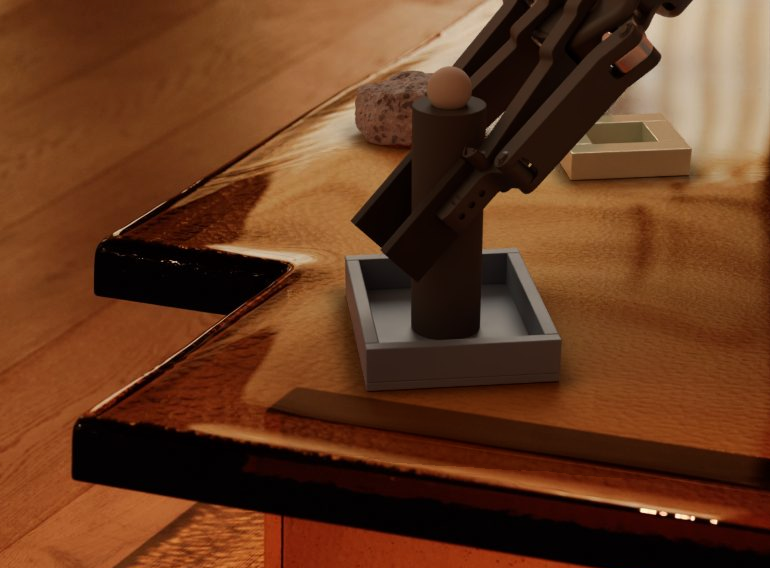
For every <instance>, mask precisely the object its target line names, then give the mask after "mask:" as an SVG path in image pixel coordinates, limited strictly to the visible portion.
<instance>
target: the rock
mask: <svg viewBox="0 0 770 568" xmlns="http://www.w3.org/2000/svg"><path fill="white" fill-rule="evenodd" d="M433 74H434V72H424V71H421V70H402V71H399V72H397V73H395V74H391V75H390V76H389V77H388V78H387V79H386V80H382V81H379V82H373V83H371V82H370V83H365V84H361V85H359V86H358V87H357V89H356V93H355V94H356V98H355V99H354V108H355V110H354V117H355V118H354V122H355V123H354V124H355V127H356V128H357V130H358V131H359V132H360V133H361V134H362V135H363V136H364V137H365V140H366V142H368V143H370V144H373V145H377V146H402V147H405V146H412V104H413V102H414V101H415V100H417V99H419V98H422V97H425V96H428V94H427V86H428V82H429V79H430V77H431V76H432V75H433Z"/></svg>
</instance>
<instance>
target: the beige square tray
mask: <svg viewBox="0 0 770 568" xmlns="http://www.w3.org/2000/svg"><path fill="white" fill-rule="evenodd" d="M692 151H693V149H692V147H691V146H690V145H689V144H688V143H687V142H686V140H685V139H684V138H683V136H682V135H681V134H680V133H679V132H678V131H677V130H676V128H675V127H674V126H673V125H672V124H671V123H670V121H669V120H668V119H667V118H666V117H665V115H663V114H662V113H661V112H656V113H655V112H653V113H630V114H604V115H603V116H602V117H601V118H600V119H599V120H598V121H597V122H596V123H595V124H594V125H593V127H592V128H591V129H590V130H589V131H588V132H587V133H586V134H585V135H584V136H583V138H582V139H581V140H580V141H579V142H578V143H577V144H576V145H575V146H574V147H573V149H572V150H571V151H570V152H569V153H568V154H567V155H566V156H565V157H564V158H563V160H562V161H561V162H560V163H559V164H560V165H561V167H562V169H563V170H564V172H565V173H566V175H567V177H568V178H569V180H571V181H581V180H582V181H583V180H602V179H603V180H604V179H605V180H607V179H627V178H628V179H629V178H651V177H652V178H653V177H654V178H655V177H673V176H674V177H675V176H690V173H691V164H692V163H691V162H692Z"/></svg>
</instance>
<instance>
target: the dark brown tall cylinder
mask: <svg viewBox="0 0 770 568" xmlns="http://www.w3.org/2000/svg"><path fill="white" fill-rule="evenodd" d="M433 73H434V74H433V75H432V76H431V77H430V79H429V82H428V86H427V94H428V96H425V97H422V98H419V99H417V100H415V101H414V102H413V104H412V145H411V149H412V212H413V211H414V210H415V209H416V208H417V207H418V205H419V204H420V203H421V202H422V201H423V200H424V198H425V197H426V196H427V195H428V194H429V193H430V192H431V190H432V189H433V188H434V187H435V186H436V185H437V183H438V182H439V181H440V180H441V179H442V178H443V176H444V175H445V174H446V173H447V172H448V171H449V170H450V168H451V167H452V166H453V165H454V164H455V163H456V161H457V160H458V159H459V158H462V159H463V160H464V161H466V162H467V163H468V164H469V165H470V166H471V167H472V168H473V169H474V166H473V165H472V164H471V163H470V162H469V161H468V160H467V159H466V158H465V157H463V154H462V153H463V150H464V148H465V147H467V148H468V147H469V148H473V149H475V150H476V149H477V150H478V149H479V148H480V146H481V145H482V143H483V142H484V140H485V139H486V138H487V136H486V135H487V129H486V106H487V105H486V103H485V102H484V101H483V100H481V99H479V98H476V97H473V96H471V94H472V85H471V81H470V79H469V77H468V75H467V74H466V73H465V72H464V71H463V70H461V69H459V68H457V67H453V65H449V66H443V67H440V68H438V69H437V70H436V71H434V72H433ZM484 209H485V208H484ZM484 209H483V210H482V211H481V213H480V214H478V216H477V217H476V218H475V219H474V220H473V222H472V223H471V224H470V225H469V226H468V228H467V229H466V230H464V231H463V232H462V233H461V234H460V235H459V236H458V237H457V238H456V239H455V241H454V242H453V243H452V244H451V245H450V246H449V247H448V249H447V250H446V251H445V252H444V253H443V254H442V255H441V257H440V258H439V259H438V260H437V261H436V262H435V263H434V265H433V266H432V267H431V268H430V269H429V270H428V272H427V273H426V274H425V275H424V276H423V277H422V278H421V280H420V281H419V282H418V283H417V282H416V281H415V280H414V279H413V278H411V327H412V330H413V331H414V332H415V333H417V334H418V335H420V336H423V337H426V338H429V339H435V340H450V339H463V338H467V337H469V336H472V335H474V334H475V333H476V332H478V330H479V328H480V314H481V279H482V249H483V244H484V243H483V241H484V240H483V239H484Z"/></svg>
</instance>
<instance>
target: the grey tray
mask: <svg viewBox="0 0 770 568" xmlns="http://www.w3.org/2000/svg"><path fill="white" fill-rule="evenodd" d="M344 280H345V281H344V283H345V284H344V286H345V289H344V290H345V296H346V301H347V306H348V312H349V316H350V320H351V325H352V330H353V334H354V339H355V344H356V348H357V352H358V357H359V362H360V367H361V371H362V376H363V381H364V385H365V390H366V391H367V392H377V391H397V390H416V389H431V388H432V389H435V388H437V389H438V388H453V387H454V388H456V387H473V386H474V387H475V386H491V385H492V386H494V385H512V384H530V383H531V384H533V383H549V382H551V383H552V382H559V381H560V377H561V360H562V343H563V339H562V337H561V335H560V334H559V331H558V329H557V326H556V325H555V323H554V321H553V319H552V318H551V315H550V313H549V311H548V308H547V307H546V305H545V302H544V300H543V298H542V296H541V294H540V292H539V290H538V287H537V286H536V283H535V282H534V280H533V277H532V275H531V273H530V271H529V269H528V267H527V265H526V263H525V261H524V259H523V257H522V255H521V253H520V250H519V248H518V247H504V248H482V279H481V314H480V328H479V330H478V332H476V333H475V334H474V335H472V336H469V337H467V338H463V339H450V340H435V339H429V338H426V337H423V336H420V335H418V334H417V333H415V332H414V331H413V330H412V327H411V277H410V276H409V275H408V274H407V273H406V272H404V271H403V270H402V269H401V268H400V267H399V266H397V265H396V264H395V263H394V262H393V261H392V260H390V259H389V258H388V257H387V256H386V255H385V254H384V253H377V254H376V253H375V254H373V253H371V254H351V255H349V254H348V255H344Z"/></svg>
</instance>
